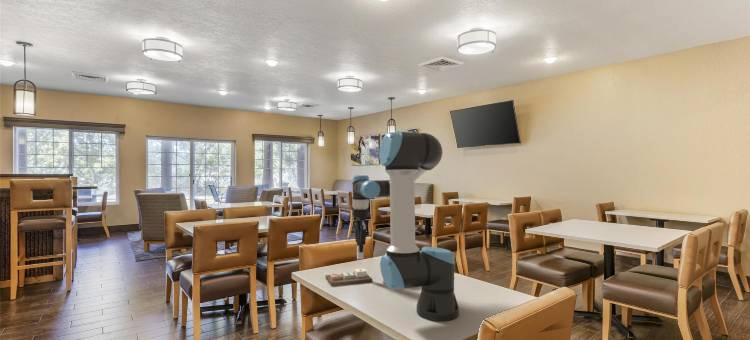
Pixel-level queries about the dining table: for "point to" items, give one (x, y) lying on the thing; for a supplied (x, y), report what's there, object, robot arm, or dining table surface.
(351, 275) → the tile
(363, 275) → the tile
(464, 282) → the dining table surface
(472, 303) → the dining table surface
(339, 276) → the tile
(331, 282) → the board
